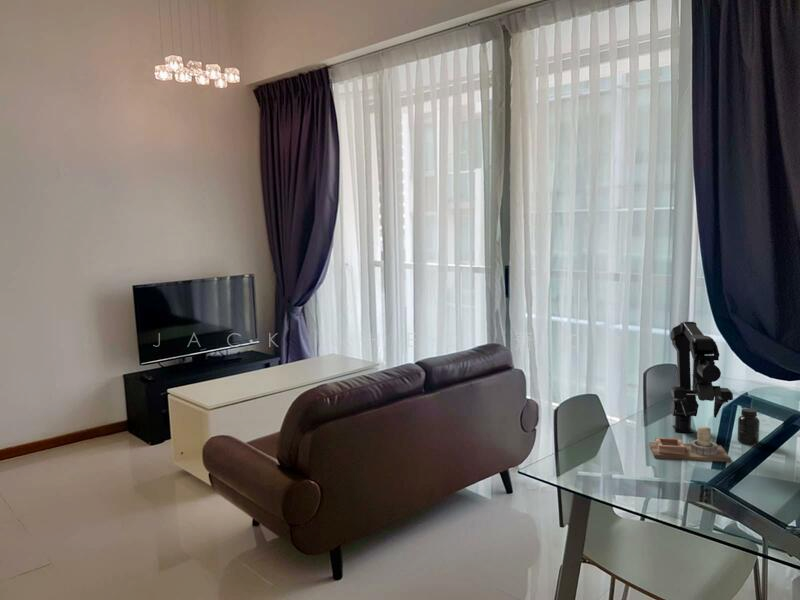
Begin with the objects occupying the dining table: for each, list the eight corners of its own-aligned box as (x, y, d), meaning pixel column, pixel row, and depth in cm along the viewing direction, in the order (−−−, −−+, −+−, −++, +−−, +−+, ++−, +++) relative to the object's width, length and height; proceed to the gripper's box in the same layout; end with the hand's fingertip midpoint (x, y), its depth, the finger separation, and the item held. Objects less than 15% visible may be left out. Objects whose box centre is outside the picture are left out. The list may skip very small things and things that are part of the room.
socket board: (648, 445, 225) (649, 435, 224) (720, 448, 219) (721, 438, 218) (654, 458, 213) (654, 447, 212) (730, 461, 207) (730, 451, 207)
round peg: (696, 448, 217) (696, 426, 216) (708, 448, 216) (708, 426, 215) (698, 452, 213) (699, 430, 212) (711, 453, 212) (711, 430, 211)
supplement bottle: (761, 445, 220) (763, 413, 218) (740, 445, 221) (742, 412, 220) (754, 438, 227) (756, 407, 225) (734, 438, 228) (735, 406, 226)
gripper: (677, 379, 207) (676, 423, 210) (738, 380, 203) (736, 426, 206) (671, 370, 218) (670, 413, 220) (728, 371, 214) (727, 414, 216)
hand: (700, 416), depth 215 cm, fingers open, 9 cm apart
